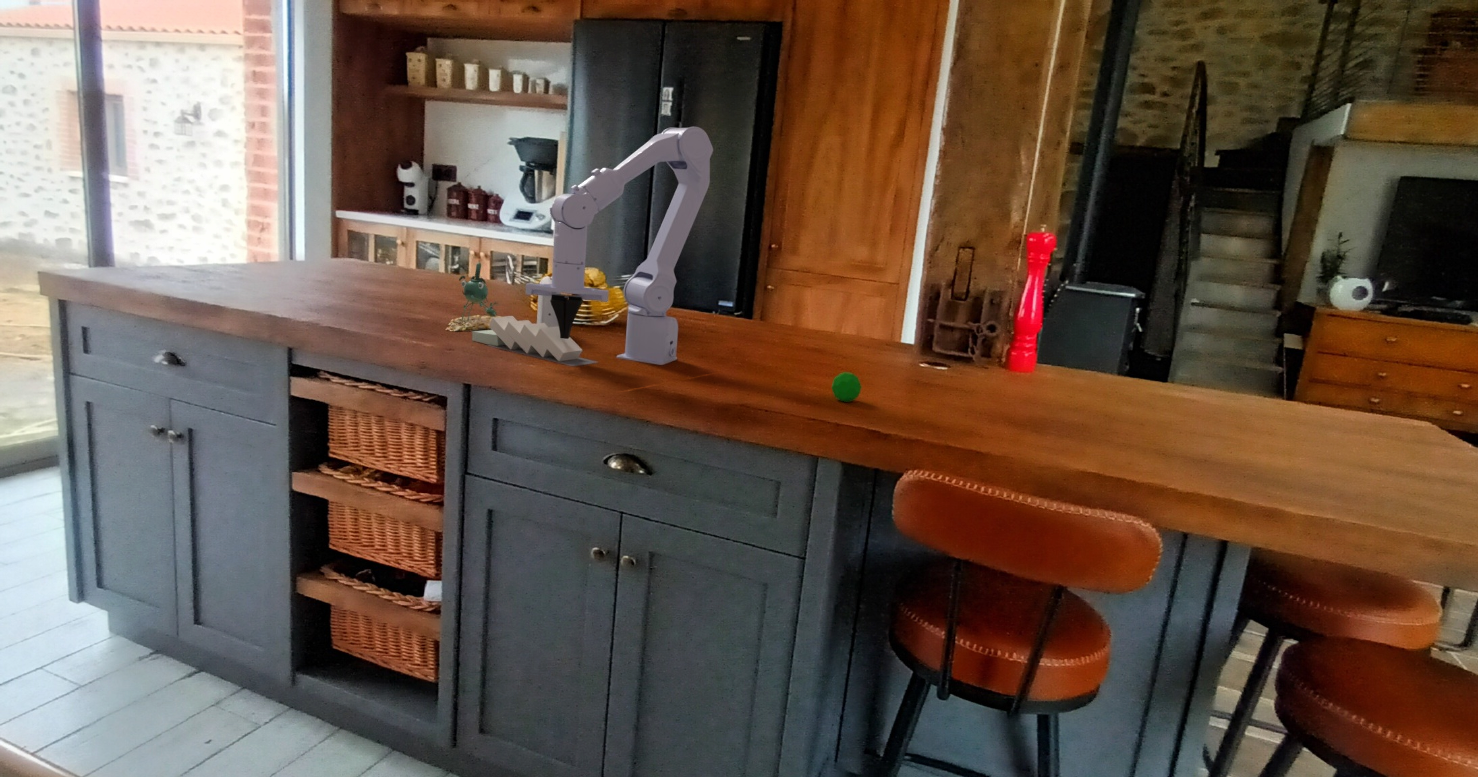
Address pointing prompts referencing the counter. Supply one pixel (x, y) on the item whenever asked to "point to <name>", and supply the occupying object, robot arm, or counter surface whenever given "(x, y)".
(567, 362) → the domino mat
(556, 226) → the robot arm
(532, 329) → the domino
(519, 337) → the domino
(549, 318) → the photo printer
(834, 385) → the polyhedron
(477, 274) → the teal and tan figure
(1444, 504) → the counter surface
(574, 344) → the domino
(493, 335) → the pale green rectangular block
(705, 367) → the counter surface
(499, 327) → the domino
